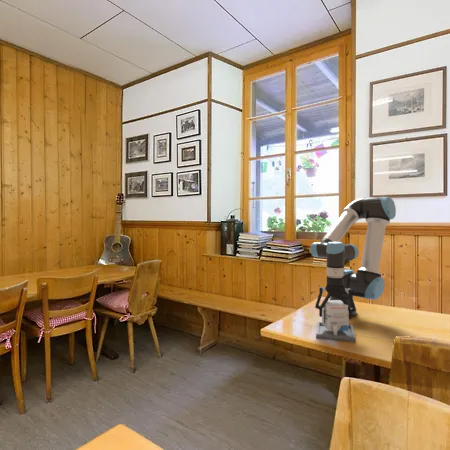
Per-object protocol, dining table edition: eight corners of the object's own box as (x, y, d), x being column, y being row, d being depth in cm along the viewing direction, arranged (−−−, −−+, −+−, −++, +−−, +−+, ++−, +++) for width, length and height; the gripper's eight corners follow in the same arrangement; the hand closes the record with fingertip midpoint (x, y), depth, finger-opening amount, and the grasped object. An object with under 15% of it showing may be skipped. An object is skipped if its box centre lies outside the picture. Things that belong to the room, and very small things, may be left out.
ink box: (340, 324, 151) (341, 299, 150) (348, 331, 142) (348, 305, 141) (322, 324, 150) (322, 299, 150) (329, 331, 142) (329, 305, 141)
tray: (317, 325, 156) (317, 313, 156) (352, 328, 152) (352, 316, 151) (316, 338, 141) (316, 325, 141) (355, 342, 136) (355, 329, 136)
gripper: (308, 276, 145) (309, 325, 146) (363, 279, 138) (362, 330, 139) (309, 273, 152) (309, 319, 153) (361, 275, 145) (361, 324, 146)
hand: (335, 324), depth 146 cm, fingers closed on ink box, 10 cm apart
